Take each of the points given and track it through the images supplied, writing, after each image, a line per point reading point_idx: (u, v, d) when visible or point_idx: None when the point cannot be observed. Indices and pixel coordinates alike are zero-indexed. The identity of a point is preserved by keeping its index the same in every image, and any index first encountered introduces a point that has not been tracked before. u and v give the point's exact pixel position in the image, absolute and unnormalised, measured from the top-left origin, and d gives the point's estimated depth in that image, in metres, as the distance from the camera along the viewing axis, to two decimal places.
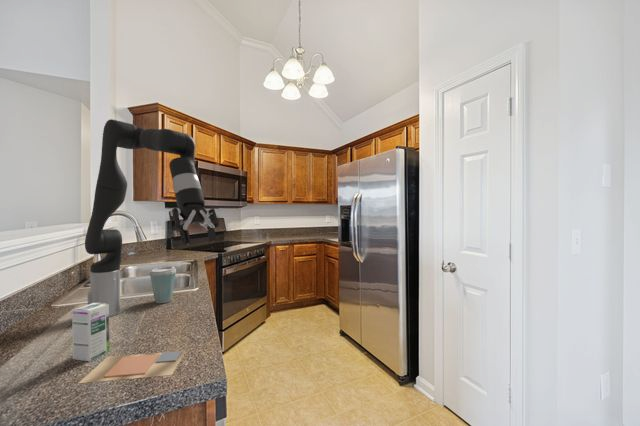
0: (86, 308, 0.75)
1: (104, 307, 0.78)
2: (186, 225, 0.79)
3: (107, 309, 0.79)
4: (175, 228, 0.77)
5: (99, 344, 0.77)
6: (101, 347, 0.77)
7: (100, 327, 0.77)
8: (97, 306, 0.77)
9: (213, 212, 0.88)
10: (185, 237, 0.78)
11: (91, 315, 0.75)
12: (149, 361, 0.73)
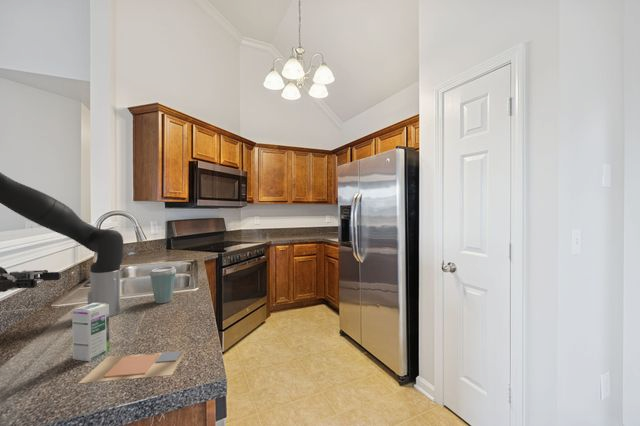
0: (86, 308, 0.75)
1: (104, 307, 0.78)
2: (38, 280, 0.79)
3: (107, 309, 0.79)
4: None
5: (99, 344, 0.77)
6: (101, 347, 0.77)
7: (101, 327, 0.77)
8: (97, 306, 0.77)
9: None
10: None
11: (91, 315, 0.75)
12: (149, 361, 0.73)
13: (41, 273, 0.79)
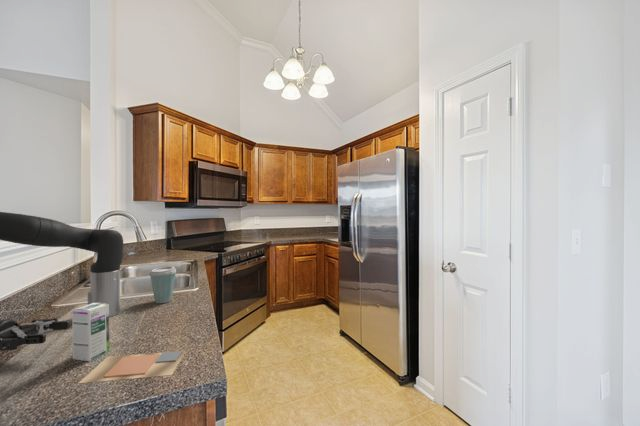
0: (86, 308, 0.75)
1: (104, 307, 0.78)
2: None
3: (107, 309, 0.79)
4: None
5: (99, 344, 0.77)
6: (101, 347, 0.77)
7: (100, 327, 0.77)
8: (97, 306, 0.77)
9: None
10: None
11: (91, 315, 0.75)
12: (149, 361, 0.73)
13: (50, 323, 0.79)
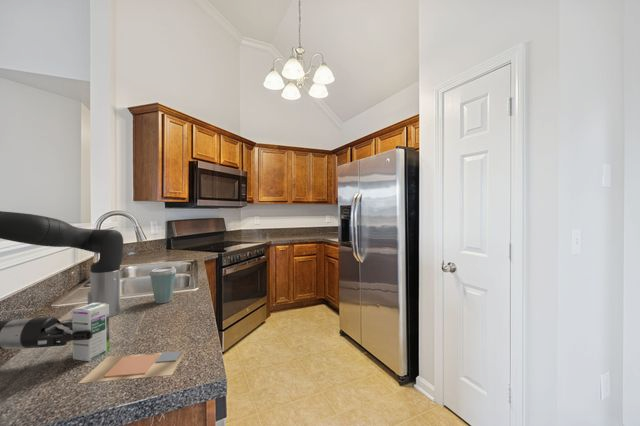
0: (86, 308, 0.75)
1: (105, 307, 0.78)
2: None
3: (107, 309, 0.79)
4: None
5: (99, 344, 0.77)
6: (101, 347, 0.77)
7: (101, 327, 0.77)
8: (97, 306, 0.77)
9: None
10: None
11: (91, 315, 0.75)
12: (149, 361, 0.73)
13: None
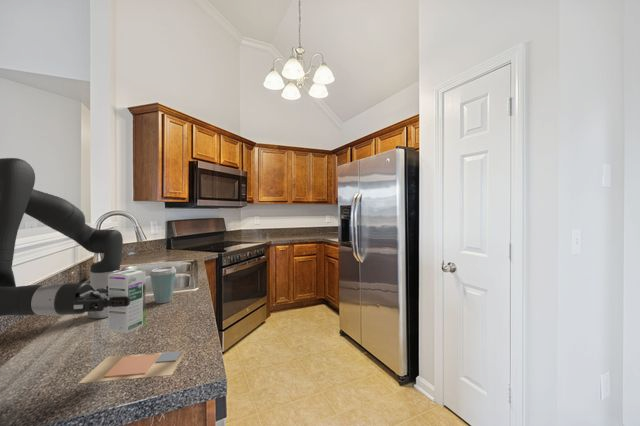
0: (123, 273, 0.70)
1: (141, 273, 0.73)
2: None
3: (144, 276, 0.73)
4: None
5: (136, 313, 0.71)
6: (137, 316, 0.71)
7: (137, 294, 0.71)
8: (134, 272, 0.71)
9: None
10: None
11: (129, 281, 0.69)
12: (149, 361, 0.73)
13: None
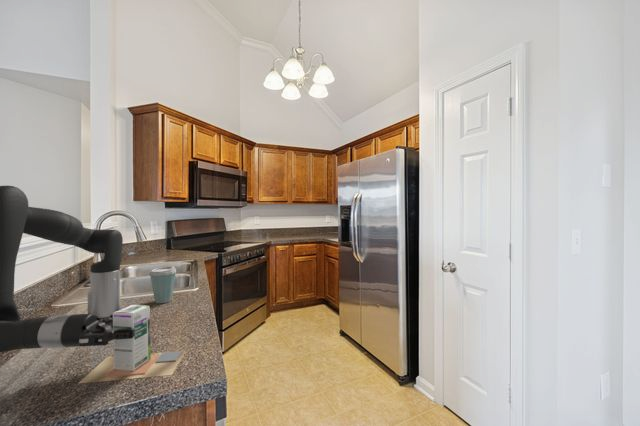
0: (128, 311, 0.70)
1: (146, 309, 0.73)
2: None
3: (148, 311, 0.74)
4: None
5: (142, 349, 0.71)
6: (143, 352, 0.72)
7: (143, 330, 0.72)
8: (139, 308, 0.72)
9: None
10: None
11: (134, 318, 0.69)
12: (149, 361, 0.73)
13: None
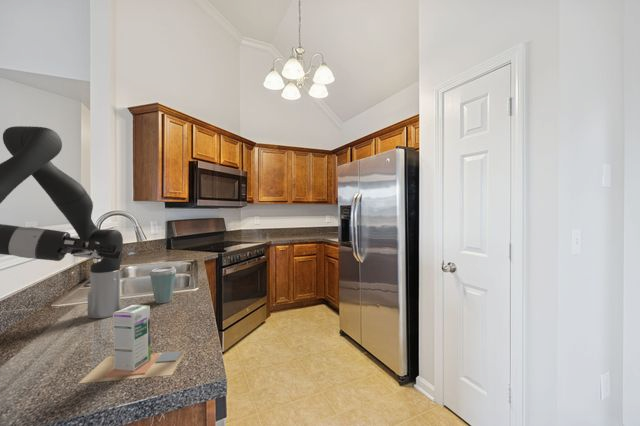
0: (128, 311, 0.70)
1: (146, 309, 0.73)
2: (96, 257, 0.78)
3: (148, 311, 0.74)
4: None
5: (142, 349, 0.71)
6: (143, 352, 0.72)
7: (143, 330, 0.72)
8: (139, 308, 0.72)
9: (69, 247, 0.68)
10: None
11: (135, 318, 0.69)
12: (149, 361, 0.73)
13: None
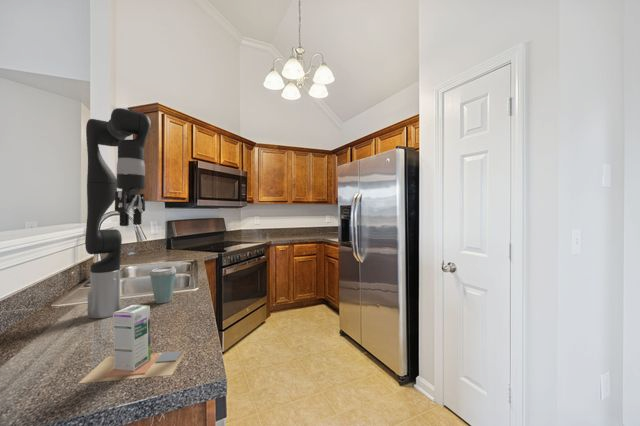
0: (128, 311, 0.70)
1: (146, 309, 0.73)
2: (128, 209, 0.85)
3: (148, 311, 0.74)
4: (120, 210, 0.82)
5: (142, 349, 0.71)
6: (143, 352, 0.72)
7: (143, 330, 0.72)
8: (139, 308, 0.72)
9: (143, 197, 0.95)
10: (125, 220, 0.84)
11: (135, 318, 0.69)
12: (149, 361, 0.73)
13: None
